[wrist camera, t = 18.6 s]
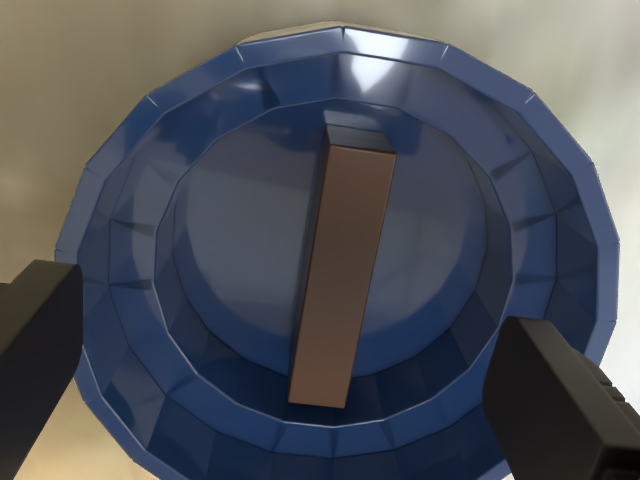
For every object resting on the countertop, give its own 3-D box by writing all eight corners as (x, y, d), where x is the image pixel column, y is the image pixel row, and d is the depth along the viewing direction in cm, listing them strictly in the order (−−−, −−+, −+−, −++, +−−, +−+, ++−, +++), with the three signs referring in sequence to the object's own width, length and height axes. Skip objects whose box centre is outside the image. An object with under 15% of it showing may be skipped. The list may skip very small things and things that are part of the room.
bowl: (116, 389, 23) (57, 507, 18) (127, -14, 18) (48, -24, 12) (476, 428, 25) (527, 551, 19) (592, 62, 19) (711, 85, 14)
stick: (339, 360, 22) (344, 409, 20) (288, 354, 22) (287, 403, 20) (384, 132, 19) (398, 154, 16) (325, 123, 19) (329, 143, 16)
